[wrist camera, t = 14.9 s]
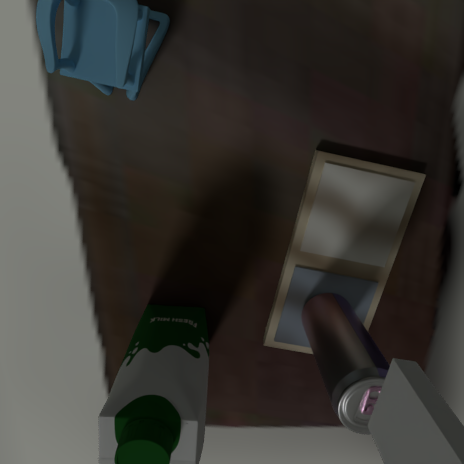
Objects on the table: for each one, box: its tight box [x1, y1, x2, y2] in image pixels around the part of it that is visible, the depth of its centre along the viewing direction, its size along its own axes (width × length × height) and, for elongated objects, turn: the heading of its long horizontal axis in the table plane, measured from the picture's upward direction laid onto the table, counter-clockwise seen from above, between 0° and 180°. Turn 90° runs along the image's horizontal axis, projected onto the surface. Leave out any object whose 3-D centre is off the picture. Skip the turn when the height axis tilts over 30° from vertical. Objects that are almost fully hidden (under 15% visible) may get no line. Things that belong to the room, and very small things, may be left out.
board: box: [263, 150, 426, 354], centre depth 43 cm, size 24×12×2 cm, turn 168°
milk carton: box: [98, 304, 209, 464], centre depth 37 cm, size 9×9×20 cm
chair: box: [36, 0, 170, 100], centre depth 31 cm, size 8×8×12 cm
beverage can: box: [301, 293, 390, 434], centre depth 37 cm, size 6×6×15 cm
